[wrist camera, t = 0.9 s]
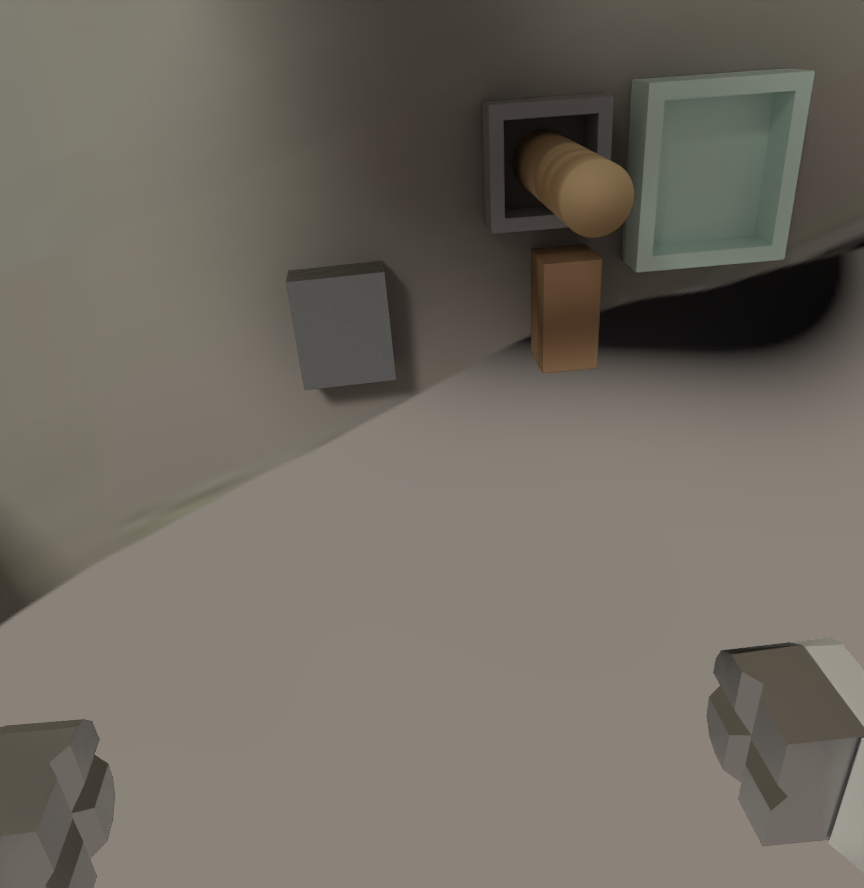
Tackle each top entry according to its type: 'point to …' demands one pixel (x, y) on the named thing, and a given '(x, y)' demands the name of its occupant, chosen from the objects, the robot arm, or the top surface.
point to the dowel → (574, 183)
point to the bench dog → (565, 308)
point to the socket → (493, 151)
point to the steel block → (342, 324)
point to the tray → (714, 167)
